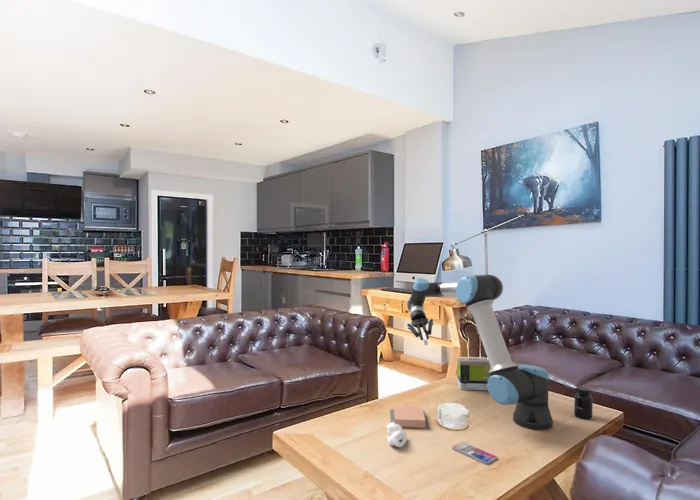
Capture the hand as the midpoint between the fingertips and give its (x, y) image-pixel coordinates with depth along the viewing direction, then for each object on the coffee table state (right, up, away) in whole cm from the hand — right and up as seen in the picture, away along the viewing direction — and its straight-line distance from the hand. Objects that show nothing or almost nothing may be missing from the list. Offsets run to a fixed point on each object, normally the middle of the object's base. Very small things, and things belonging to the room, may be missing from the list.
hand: (425, 342), depth 191 cm
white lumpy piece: (-17, -30, -34) cm, 48 cm away
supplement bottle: (+65, -30, -11) cm, 73 cm away
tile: (-10, -27, -10) cm, 30 cm away
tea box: (+29, -29, +26) cm, 48 cm away
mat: (-10, -29, -15) cm, 34 cm away
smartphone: (+9, -30, -43) cm, 53 cm away
